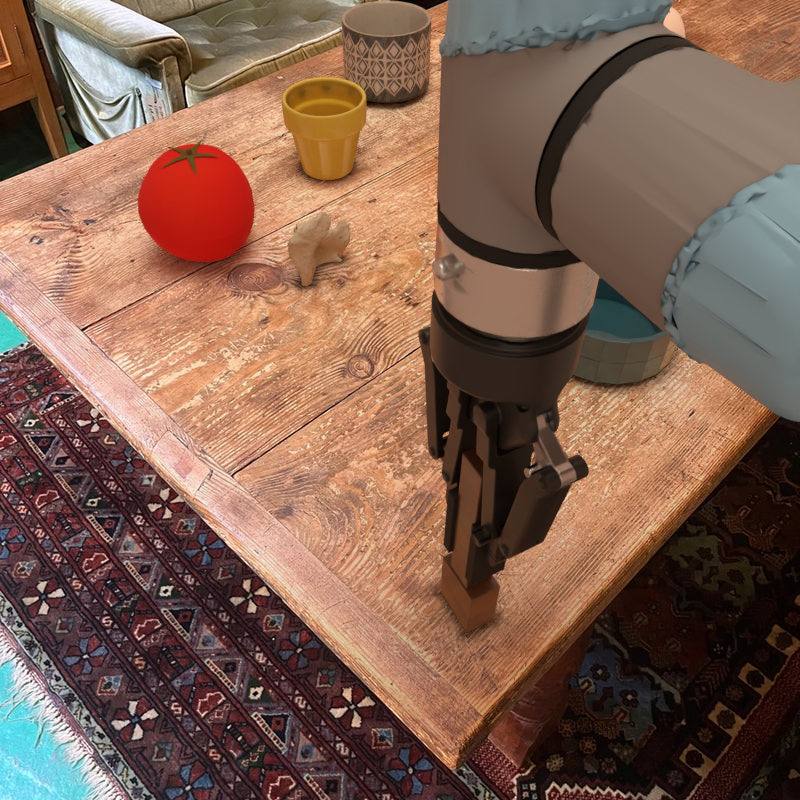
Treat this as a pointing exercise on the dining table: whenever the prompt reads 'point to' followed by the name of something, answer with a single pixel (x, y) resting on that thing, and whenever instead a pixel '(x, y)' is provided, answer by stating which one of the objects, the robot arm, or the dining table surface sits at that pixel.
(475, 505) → the stirring stick
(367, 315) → the dining table surface
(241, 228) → the tomato
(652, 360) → the bowl
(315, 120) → the flower pot
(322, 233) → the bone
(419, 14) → the planter
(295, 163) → the dining table surface
